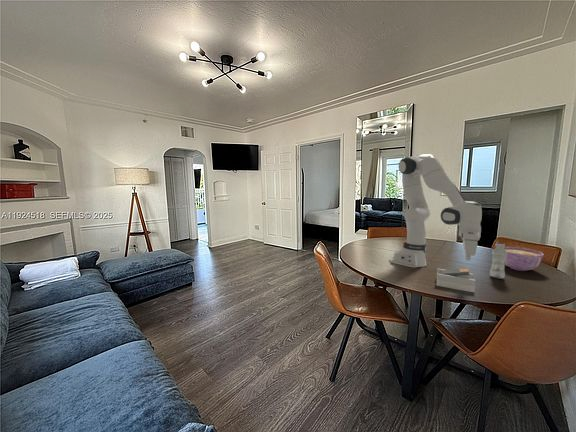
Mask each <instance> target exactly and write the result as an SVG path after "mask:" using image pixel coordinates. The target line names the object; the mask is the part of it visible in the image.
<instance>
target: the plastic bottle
mask: <svg viewBox="0 0 576 432" xmlns="http://www.w3.org/2000/svg"><path fill="white" fill-rule="evenodd" d="M505 247H506V244H505V243H503V242H496V243H495V248H494V249H492V251H491V256H492V260H491V261H492V263H491V266H490V269H489V275H490V276H491V277H492V278H494V279H504V278H505V276H506V271H505V269H506V265H505V261H506V258H507V251H506V250H505V249H504V248H505Z"/></svg>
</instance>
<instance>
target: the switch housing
mask: <svg viewBox="0 0 576 432" xmlns="http://www.w3.org/2000/svg"><path fill="white" fill-rule="evenodd" d="M436 269H437V270H436V283H435V284H436V286H437V287H442V288H447V289H453V290H458V291H463V292H469V293H475V291H476V290H475V289H476V279H474V274H473V273H470V272H469V275H463V276H449V275H443V274H441V270H446V269H442V268H436Z"/></svg>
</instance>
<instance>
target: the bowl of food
mask: <svg viewBox="0 0 576 432" xmlns="http://www.w3.org/2000/svg"><path fill="white" fill-rule="evenodd" d="M504 249H505V250H506V251H507V258H506V261H505V267H510V268H509V269H511V270H514V271H520V272H526V271H531V270H535V269H536V268H538V266H539V265H540V263H541V262H542V259H543V257H544V253H543V252H542V251H539V250H535V249H530V248H527V247H526V248H525V247H517V246H505V248H504Z"/></svg>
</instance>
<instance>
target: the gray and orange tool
mask: <svg viewBox="0 0 576 432" xmlns="http://www.w3.org/2000/svg"><path fill="white" fill-rule="evenodd" d="M469 273H470V271H469V268H459V269H457V268H456V269H445V270H441V274H443V275H449V276H463V275H469Z"/></svg>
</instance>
